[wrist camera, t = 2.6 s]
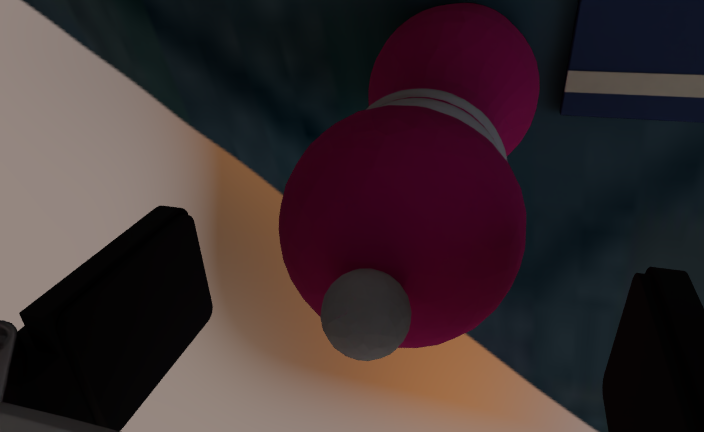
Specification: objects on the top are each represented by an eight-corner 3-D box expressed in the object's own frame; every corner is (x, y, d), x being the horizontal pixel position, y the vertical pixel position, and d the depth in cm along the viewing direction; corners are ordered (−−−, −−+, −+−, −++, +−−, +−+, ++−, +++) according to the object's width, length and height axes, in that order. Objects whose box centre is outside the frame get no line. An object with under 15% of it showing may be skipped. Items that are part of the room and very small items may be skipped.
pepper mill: (502, 153, 27) (473, 519, 11) (376, 110, 28) (170, 391, 12) (563, 16, 23) (667, 267, 7) (414, -29, 24) (182, 97, 8)
